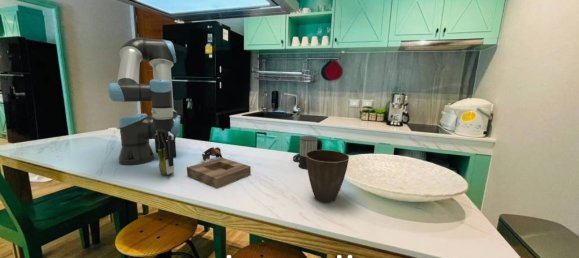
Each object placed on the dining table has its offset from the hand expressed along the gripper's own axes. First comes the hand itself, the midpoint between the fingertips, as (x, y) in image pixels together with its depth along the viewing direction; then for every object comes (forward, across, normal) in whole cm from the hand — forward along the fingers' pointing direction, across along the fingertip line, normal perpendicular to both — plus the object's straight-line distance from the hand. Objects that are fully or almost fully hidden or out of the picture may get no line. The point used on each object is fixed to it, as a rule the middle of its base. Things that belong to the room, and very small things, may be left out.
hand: (166, 171), depth 99 cm
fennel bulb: (+2, 0, 0) cm, 2 cm away
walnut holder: (+2, +17, +14) cm, 22 cm away
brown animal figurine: (+2, -1, +25) cm, 25 cm away
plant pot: (+1, +63, +24) cm, 68 cm away
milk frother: (+2, +38, +51) cm, 64 cm away
